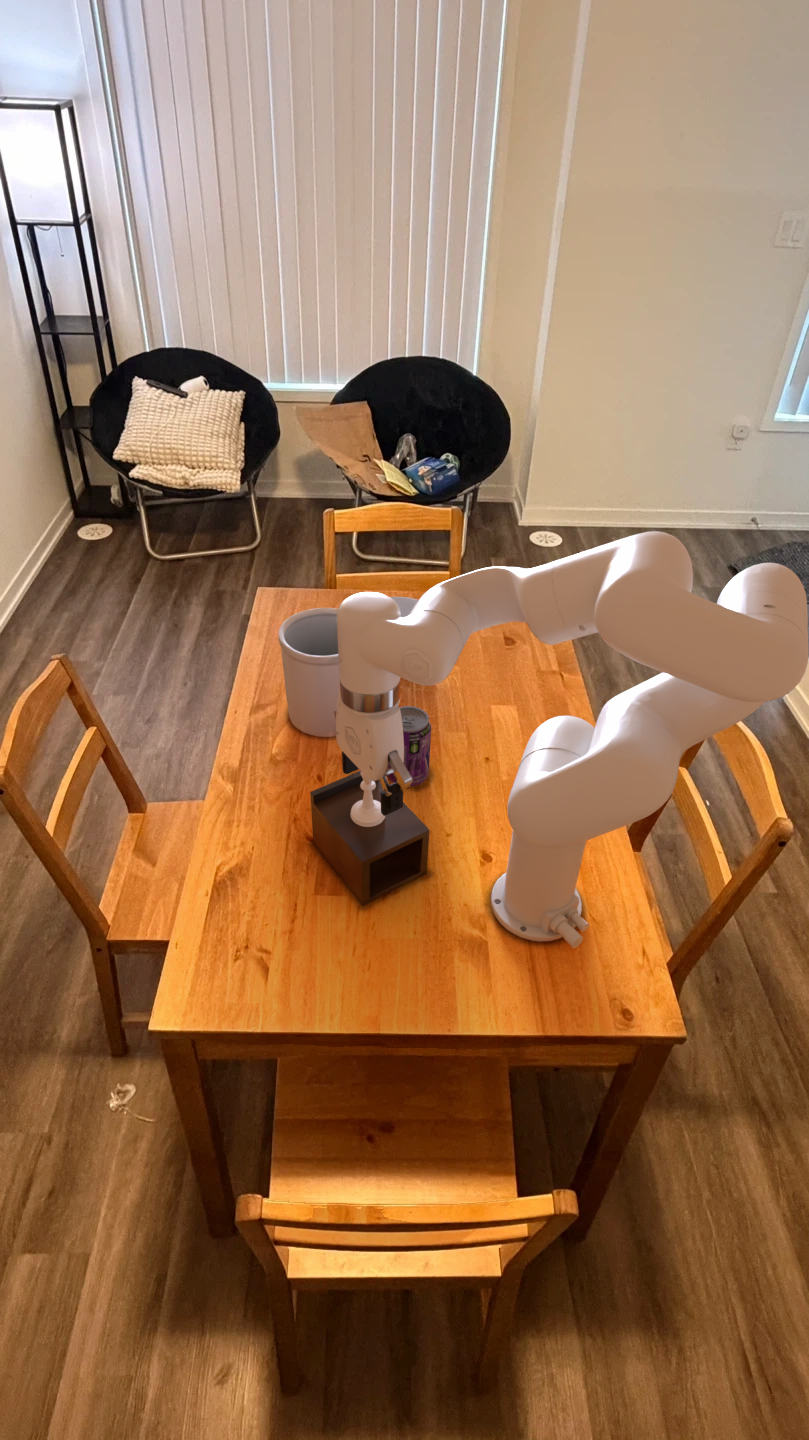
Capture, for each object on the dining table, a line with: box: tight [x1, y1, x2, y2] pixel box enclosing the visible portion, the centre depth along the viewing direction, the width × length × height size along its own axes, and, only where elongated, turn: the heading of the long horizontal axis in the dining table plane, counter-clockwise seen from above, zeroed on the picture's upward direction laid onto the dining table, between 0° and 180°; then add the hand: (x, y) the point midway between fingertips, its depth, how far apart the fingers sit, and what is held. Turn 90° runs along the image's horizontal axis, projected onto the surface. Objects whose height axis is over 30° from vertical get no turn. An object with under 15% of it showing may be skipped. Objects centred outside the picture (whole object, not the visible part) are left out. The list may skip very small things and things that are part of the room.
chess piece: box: [350, 771, 385, 827], centre depth 117 cm, size 5×5×10 cm
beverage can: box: [386, 705, 432, 787], centre depth 136 cm, size 7×7×12 cm
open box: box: [309, 769, 430, 907], centre depth 122 cm, size 14×11×11 cm
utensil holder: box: [277, 607, 340, 738], centre depth 147 cm, size 15×15×18 cm
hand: (372, 789), depth 117 cm, fingers open, 9 cm apart
